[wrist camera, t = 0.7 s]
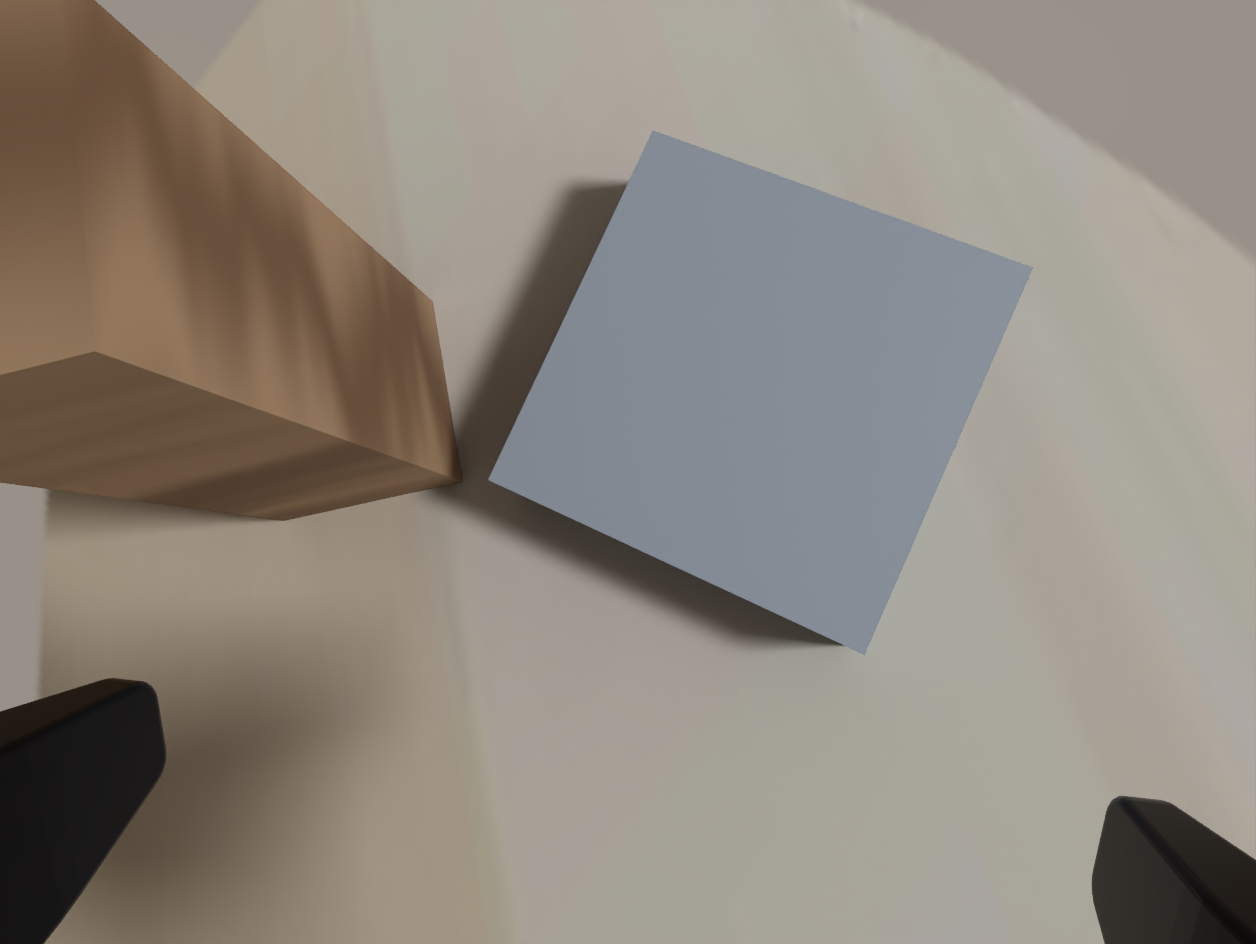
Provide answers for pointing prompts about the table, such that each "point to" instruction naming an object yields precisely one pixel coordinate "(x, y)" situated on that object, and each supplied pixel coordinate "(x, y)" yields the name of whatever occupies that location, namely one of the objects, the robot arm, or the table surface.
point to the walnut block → (190, 299)
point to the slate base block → (761, 385)
